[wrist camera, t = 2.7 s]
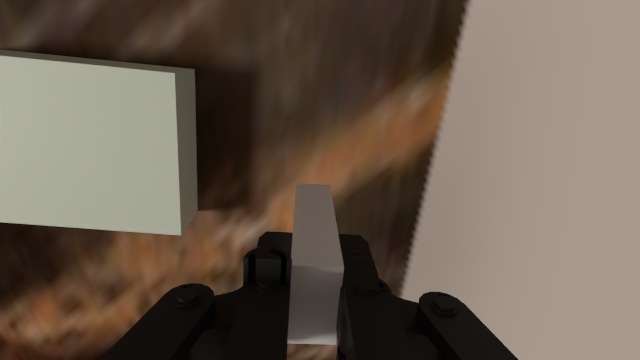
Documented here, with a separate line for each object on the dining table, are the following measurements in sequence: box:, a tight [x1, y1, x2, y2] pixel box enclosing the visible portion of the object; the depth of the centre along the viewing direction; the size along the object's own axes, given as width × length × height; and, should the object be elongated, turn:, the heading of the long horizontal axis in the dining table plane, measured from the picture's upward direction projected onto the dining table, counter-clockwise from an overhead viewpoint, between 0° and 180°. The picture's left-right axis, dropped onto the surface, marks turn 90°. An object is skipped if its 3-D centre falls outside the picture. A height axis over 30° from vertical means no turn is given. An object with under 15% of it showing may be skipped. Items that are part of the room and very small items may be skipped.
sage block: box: [0, 49, 198, 235], centre depth 22 cm, size 12×10×4 cm
